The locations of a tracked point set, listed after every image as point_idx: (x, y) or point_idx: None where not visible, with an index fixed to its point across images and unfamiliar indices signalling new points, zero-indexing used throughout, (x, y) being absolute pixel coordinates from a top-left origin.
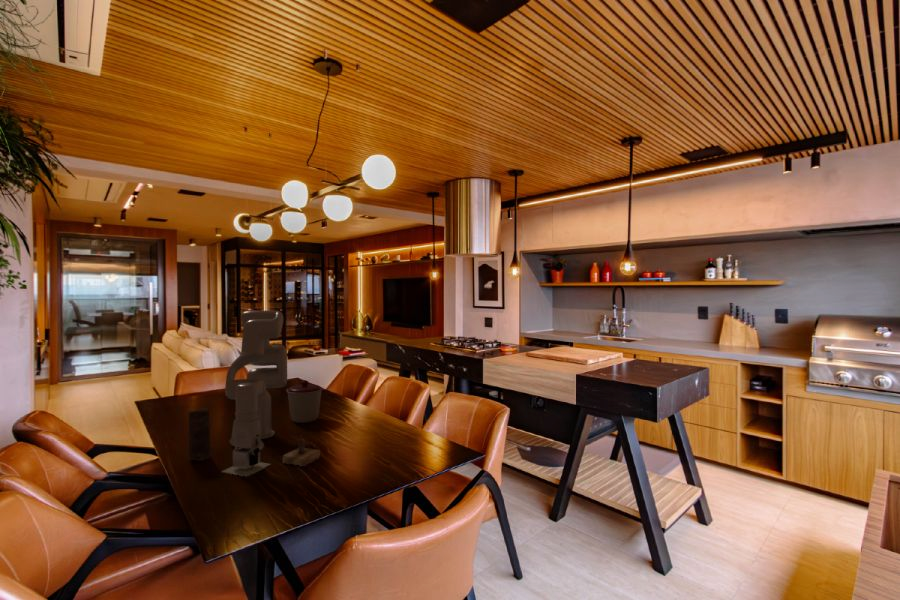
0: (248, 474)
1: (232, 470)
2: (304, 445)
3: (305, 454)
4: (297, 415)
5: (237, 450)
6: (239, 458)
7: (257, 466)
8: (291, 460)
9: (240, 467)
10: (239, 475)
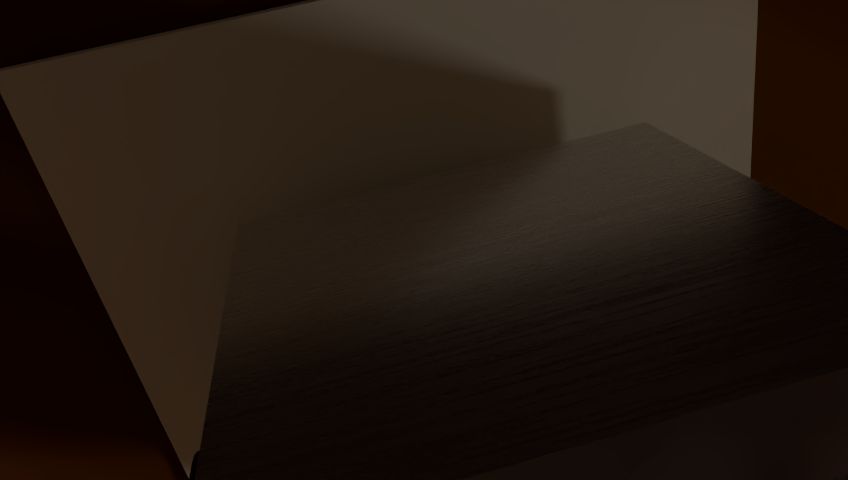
0: (65, 153)
1: (582, 76)
2: None
3: None
4: None
5: (844, 449)
6: (525, 279)
7: None
8: None
9: (421, 183)
10: (222, 20)
